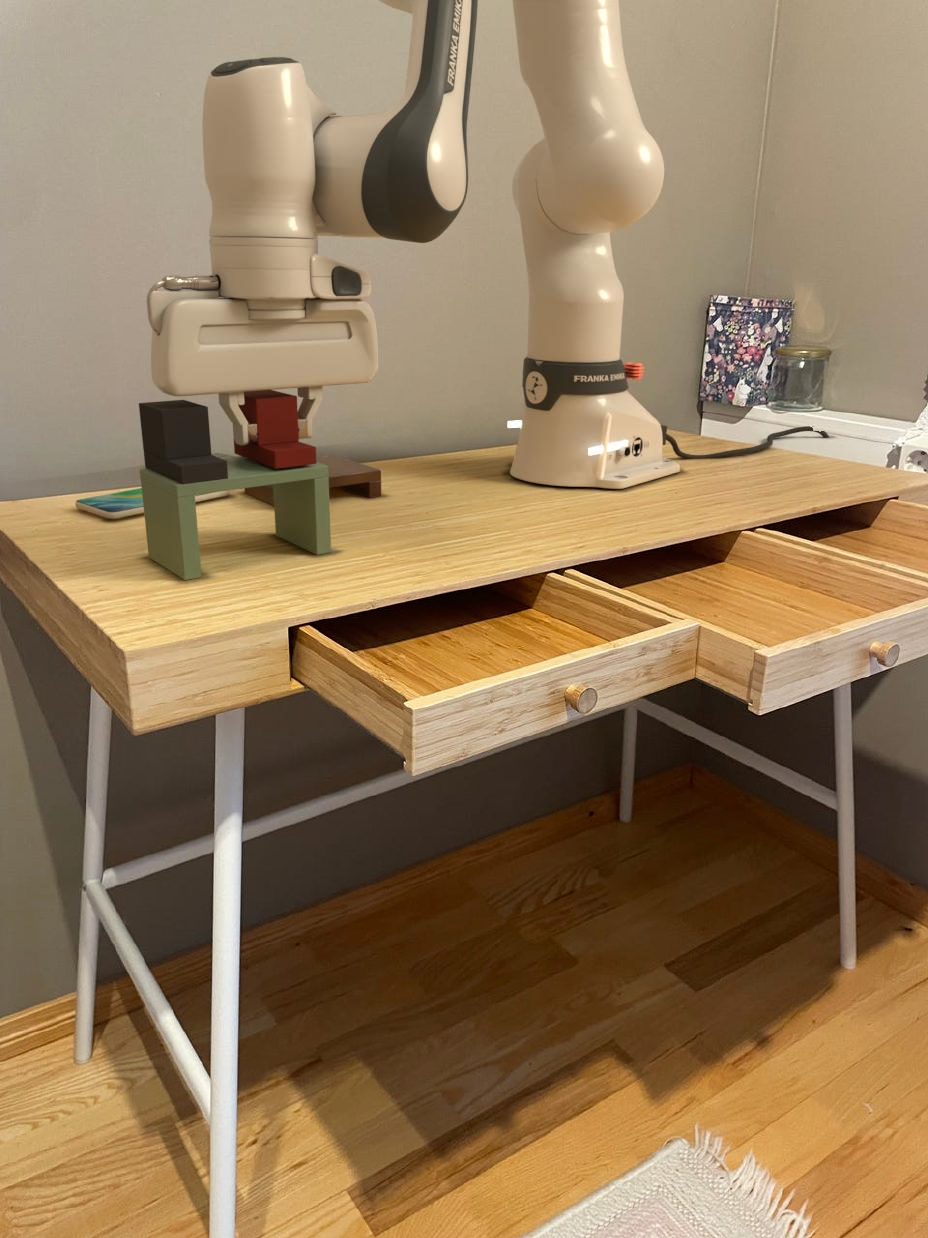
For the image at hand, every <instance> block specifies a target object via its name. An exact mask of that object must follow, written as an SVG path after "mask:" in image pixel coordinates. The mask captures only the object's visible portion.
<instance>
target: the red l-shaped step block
mask: <svg viewBox="0 0 928 1238" xmlns="http://www.w3.org/2000/svg"><path fill="white" fill-rule="evenodd" d="M238 406H239V408H240V410H241V411H242V413H243V415H244V417H245V418H246V420H247V421H248V422H251V423H255V424H257V431H258V432H257V434H256V435H257V436H258V442H257V443H256V444H249V445H239V444H236V442H235V440H234V439H233V450H234V455H238V456H239V457H245V458H248V459H251V460H253V461H256V462H259V463H261V464H264V465H267V466H269V467H272V468H275V469H278V468H286V467H294V466H302V465H310V464H316V458H317V447H316V446H314V445H311V444H308V443H306V442H305V443H304V442H301V441H299V440H300V439H299V434H298V410H299V409H298V395H293V394H290V393H285V392H282V391H277V390H275V389H274V390H260V391H246V392H244V405H238ZM232 432H233V433H232V434H233V435H232V436H234V430H233V429H232Z"/></svg>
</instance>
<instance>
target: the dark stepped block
mask: <svg viewBox="0 0 928 1238" xmlns="http://www.w3.org/2000/svg"><path fill="white" fill-rule="evenodd" d="M138 411H139V419H140V420H139V421H140V429H141V430H140V431H141V441H142V449H143V458H144V460H143V461H144V468H148V469H150V470H152V471H154V472H156V473H159V474H161V475H163V476H165V477H167V478H170V479H172V480H174V481H176V482H178V483H181V484H189V483H197V482H205V481H212V480H220V479H228V469H227V461H226V460H224V459H225V458H221V457H219V456H215V455H213V454H212V445H211V431H210V429H211V428H210V417H209V407H208V406H207V405H203V404H199V403H197V402H193V401H189V400H186V399H176V400H175V399H174V400H162V401H148V402H138Z"/></svg>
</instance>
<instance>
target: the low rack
mask: <svg viewBox="0 0 928 1238" xmlns="http://www.w3.org/2000/svg"><path fill="white" fill-rule="evenodd" d="M316 462H318V463H321V464H324V465H327V466H328V473H329V476H328V478H329V489H331V488H337V487H338V488H340V489H344V490H347V491H350V492H352V493H355V494H358V495H361V496H364V497H366V498H369V499H371V498H377V497H382V470H381V469H379V468H376V467H373V466H369V465H367V464H363V463H360V462H357V461H353V460H350V459H346V458H344V457H342V456H341V457H340V456H338V455H329V456H328V455H327V456H321V457H320V456H319V457H316ZM243 491H244V494H246V495H248V496H251V497H253V498H255V499H258V500H261V501H263V502H265V503H267V504H270V505H272V506H274V494H273V484H272V485H264V486H257V487H250V488H243Z"/></svg>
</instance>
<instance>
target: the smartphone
mask: <svg viewBox="0 0 928 1238" xmlns="http://www.w3.org/2000/svg"><path fill="white" fill-rule="evenodd" d="M229 493H230V490H228V491H221V492H213V493H206V494H199V495H195V503H200V502H203V501H209V500H213V499H218V498H223V497H227V496H228V495H229ZM74 504H75V507H76V508H77V509H78V510H81V511H84V512H86V513H87V512H88V513H91V514H94V515H97V516H100V517H103V518H106V519H108V520H109V519H110V520H118V519H121V518H127V517H131V516H137V515H141V514H144V506H143V497H142V487H139V488H135V489H129V490H125V491H117V492H113V493H108V494H103V495H97V496H91V497H86V498H80V499H77V500H75V502H74Z"/></svg>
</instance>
